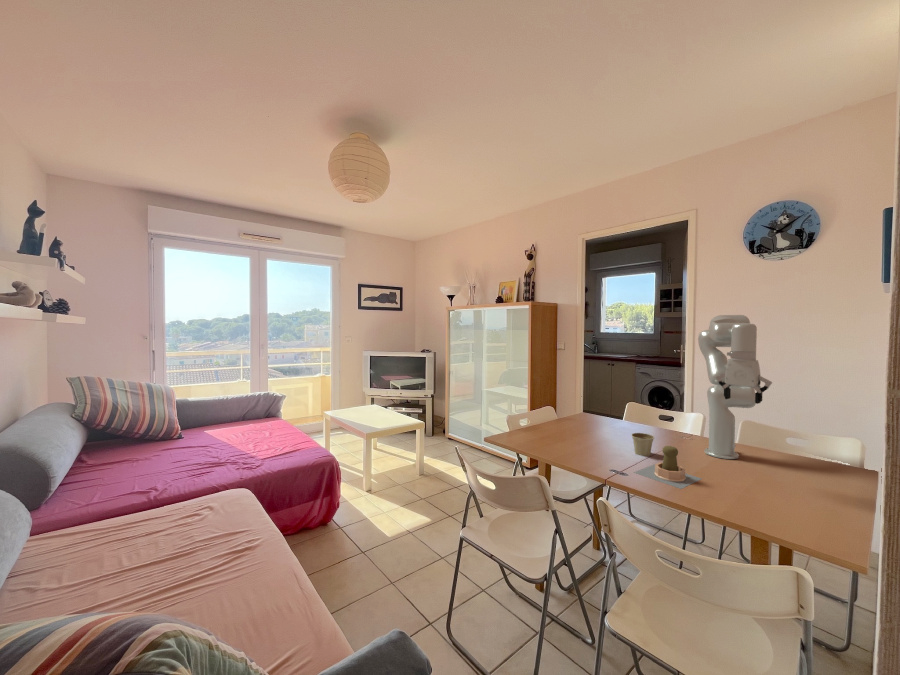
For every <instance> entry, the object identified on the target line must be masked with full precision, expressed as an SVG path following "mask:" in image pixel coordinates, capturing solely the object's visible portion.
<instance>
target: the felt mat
mask: <svg viewBox="0 0 900 675" xmlns="http://www.w3.org/2000/svg"><path fill="white" fill-rule="evenodd" d="M655 464H656V463H655ZM655 464H652V465H649V466H647V467H643V468H641V469H638V470H636V471H633V474H636V475H640V476H642V477H645V478H648V479H651V480H653V481H656V482H660V483H662V484H665V485H667V486H668V485H669V486H671V487H674V488H677V489H680V490H682V489H684V488H686V487H689V486H690V485H693V484H694V483H696V482H699V481H701V480H703V477H698V476H694V475H691V474H689V473H686V472H685V478H686V479H685V481H683V482H671V481H666V480H663V479H660V478H658V477H656V476H655Z"/></svg>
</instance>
